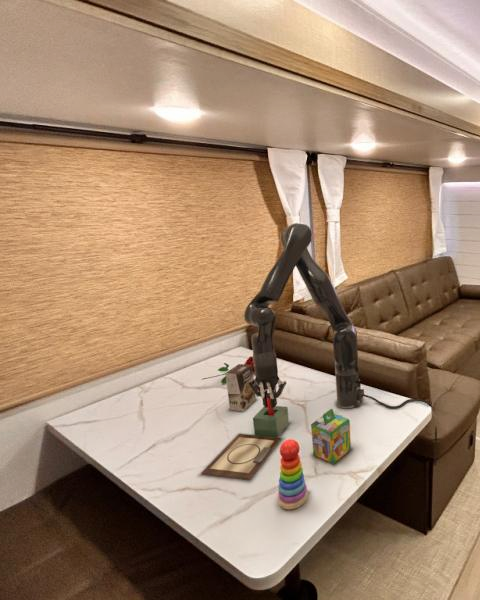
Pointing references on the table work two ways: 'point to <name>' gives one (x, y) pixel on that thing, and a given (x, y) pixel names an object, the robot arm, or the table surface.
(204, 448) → the table surface
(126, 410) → the table surface
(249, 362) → the flower
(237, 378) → the coffee box
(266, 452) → the clipboard
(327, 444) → the chalk box
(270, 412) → the marker
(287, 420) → the pen holder
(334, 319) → the robot arm
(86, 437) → the table surface
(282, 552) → the table surface
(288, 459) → the stacking toy
